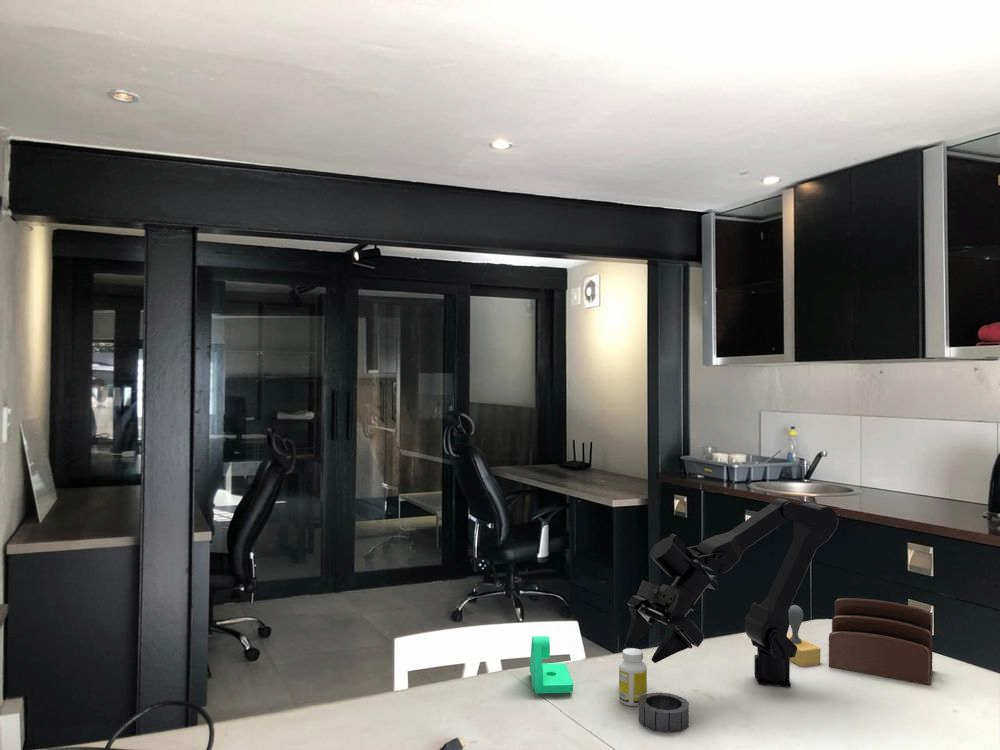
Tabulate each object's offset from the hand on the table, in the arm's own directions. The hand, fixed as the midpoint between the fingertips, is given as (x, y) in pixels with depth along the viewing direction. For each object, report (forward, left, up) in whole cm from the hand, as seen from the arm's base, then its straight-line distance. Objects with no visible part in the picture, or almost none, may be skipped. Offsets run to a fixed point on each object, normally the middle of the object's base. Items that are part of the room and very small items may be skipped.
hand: (639, 653), depth 154 cm
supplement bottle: (+1, +1, -9) cm, 9 cm away
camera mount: (+18, -2, -9) cm, 21 cm away
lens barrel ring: (-5, +8, -9) cm, 14 cm away
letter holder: (-50, -31, -9) cm, 60 cm away
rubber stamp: (-32, -34, -9) cm, 48 cm away
